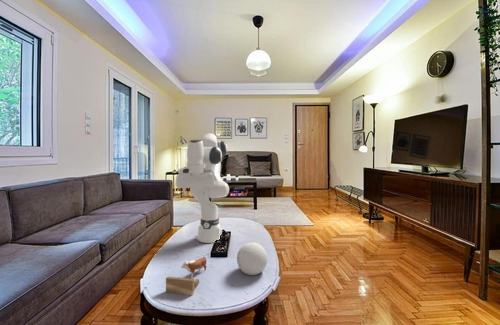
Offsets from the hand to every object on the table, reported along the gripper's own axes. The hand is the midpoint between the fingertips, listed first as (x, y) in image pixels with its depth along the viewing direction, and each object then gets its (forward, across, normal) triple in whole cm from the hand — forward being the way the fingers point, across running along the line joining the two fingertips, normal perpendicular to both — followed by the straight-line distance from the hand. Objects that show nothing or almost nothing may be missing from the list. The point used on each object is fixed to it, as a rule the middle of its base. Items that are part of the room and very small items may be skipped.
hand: (195, 195), depth 127 cm
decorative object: (+37, -22, +24) cm, 49 cm away
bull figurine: (+37, +3, +12) cm, 39 cm away
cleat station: (+37, +10, +21) cm, 44 cm away
